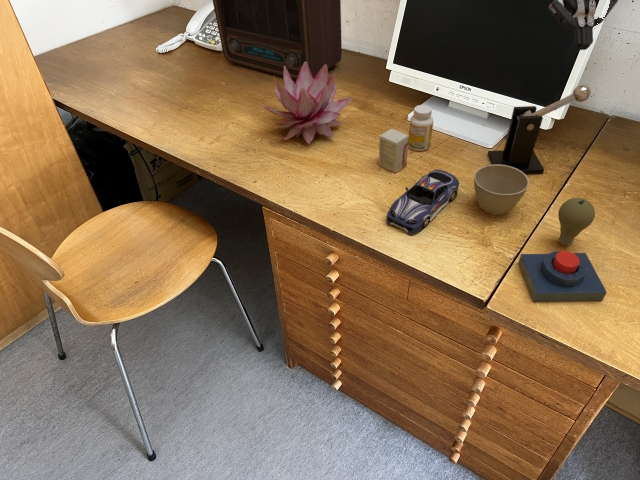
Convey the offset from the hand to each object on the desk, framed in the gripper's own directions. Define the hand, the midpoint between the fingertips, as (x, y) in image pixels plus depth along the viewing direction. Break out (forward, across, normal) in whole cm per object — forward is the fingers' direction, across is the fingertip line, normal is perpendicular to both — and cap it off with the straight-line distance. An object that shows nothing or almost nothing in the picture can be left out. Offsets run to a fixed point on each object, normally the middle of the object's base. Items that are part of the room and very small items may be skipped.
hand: (584, 48), depth 93 cm
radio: (-22, -68, +55) cm, 90 cm away
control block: (+45, -12, -11) cm, 48 cm away
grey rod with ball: (+11, -4, +4) cm, 13 cm away
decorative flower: (+8, -57, +26) cm, 63 cm away
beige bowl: (+31, -18, +3) cm, 36 cm away
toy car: (+30, -32, +4) cm, 44 cm away
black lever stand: (+20, -10, +13) cm, 26 cm away
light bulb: (+39, -7, -5) cm, 40 cm away
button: (+42, -11, -14) cm, 46 cm away
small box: (+20, -37, +14) cm, 44 cm away
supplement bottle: (+14, -30, +20) cm, 38 cm away
